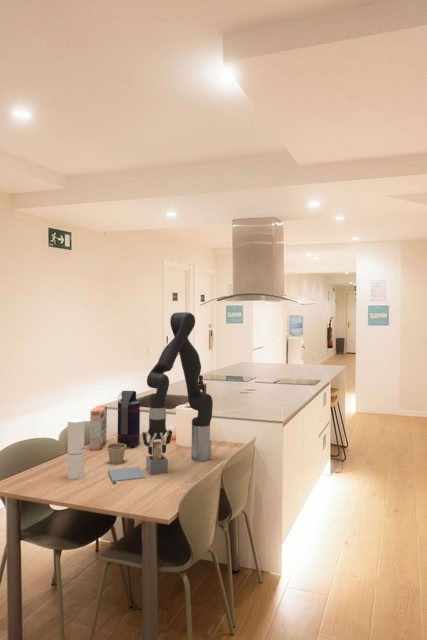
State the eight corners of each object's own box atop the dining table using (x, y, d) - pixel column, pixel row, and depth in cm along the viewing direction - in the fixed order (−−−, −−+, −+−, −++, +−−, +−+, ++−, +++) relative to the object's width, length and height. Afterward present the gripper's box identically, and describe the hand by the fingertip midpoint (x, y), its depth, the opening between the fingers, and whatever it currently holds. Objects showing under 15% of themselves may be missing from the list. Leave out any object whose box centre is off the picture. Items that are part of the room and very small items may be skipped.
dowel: (159, 469, 220) (160, 441, 220) (162, 471, 216) (162, 443, 216) (151, 469, 219) (151, 441, 218) (153, 472, 215) (153, 444, 215)
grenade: (121, 441, 267) (122, 388, 266) (142, 443, 265) (142, 389, 264) (113, 449, 253) (113, 392, 252) (134, 450, 251) (135, 393, 250)
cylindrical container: (87, 474, 214) (87, 419, 214) (77, 479, 208) (78, 422, 207) (73, 472, 217) (74, 417, 216) (64, 477, 210) (64, 421, 209)
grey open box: (162, 469, 223) (163, 454, 223) (167, 474, 215) (167, 459, 215) (146, 471, 220) (146, 456, 220) (150, 477, 212) (150, 461, 212)
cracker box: (100, 450, 250) (101, 411, 250) (89, 450, 250) (89, 410, 250) (107, 442, 264) (107, 405, 264) (96, 442, 264) (96, 405, 264)
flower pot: (121, 467, 224) (122, 449, 224) (103, 466, 226) (103, 448, 226) (129, 461, 233) (129, 443, 233) (111, 459, 235) (111, 442, 235)
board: (138, 469, 222) (138, 466, 222) (145, 480, 209) (145, 476, 209) (107, 473, 216) (107, 469, 216) (113, 484, 203) (113, 480, 203)
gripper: (170, 414, 223) (169, 450, 224) (140, 416, 218) (139, 452, 218) (174, 417, 216) (174, 454, 217) (143, 419, 211) (143, 457, 211)
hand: (156, 453), depth 217 cm, fingers open, 5 cm apart
